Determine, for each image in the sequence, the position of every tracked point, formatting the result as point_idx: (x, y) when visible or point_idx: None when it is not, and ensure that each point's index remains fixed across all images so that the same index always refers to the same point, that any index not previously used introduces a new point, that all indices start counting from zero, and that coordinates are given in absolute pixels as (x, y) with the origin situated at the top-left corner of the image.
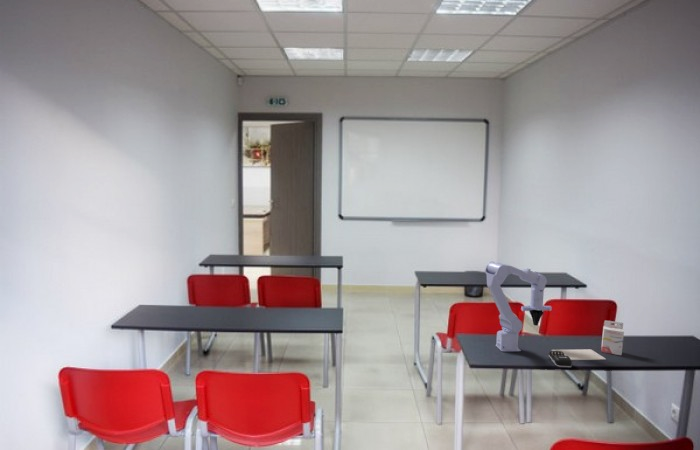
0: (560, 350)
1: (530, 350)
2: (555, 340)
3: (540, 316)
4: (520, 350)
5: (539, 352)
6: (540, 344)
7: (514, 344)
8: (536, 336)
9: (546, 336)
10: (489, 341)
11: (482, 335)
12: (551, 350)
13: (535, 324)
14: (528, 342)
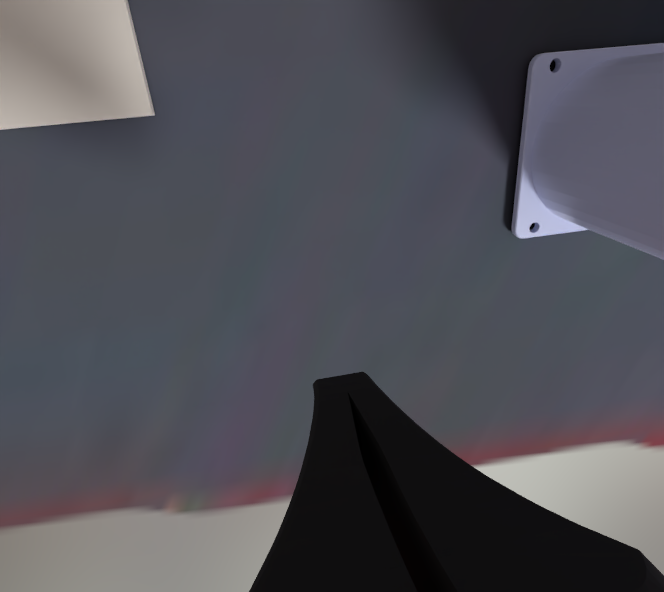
0: (31, 93)
1: (403, 104)
2: (35, 422)
3: (307, 540)
4: (540, 55)
5: (324, 38)
6: (227, 298)
7: (661, 54)
8: (202, 481)
9: (107, 497)
10: (657, 313)
11: (629, 427)
12: (153, 110)
13: (369, 379)
14: (330, 335)
